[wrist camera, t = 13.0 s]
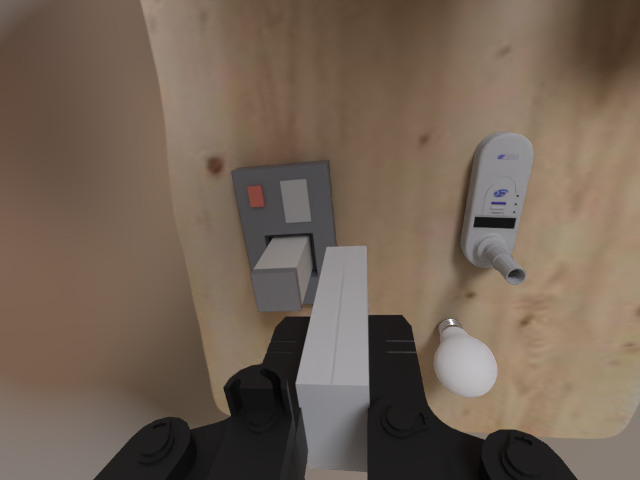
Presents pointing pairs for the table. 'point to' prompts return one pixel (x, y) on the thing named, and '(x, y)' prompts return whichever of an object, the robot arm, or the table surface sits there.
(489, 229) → the electronic device
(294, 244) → the plug
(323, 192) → the socket block
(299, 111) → the table surface
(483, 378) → the light bulb
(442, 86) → the table surface
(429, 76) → the table surface
